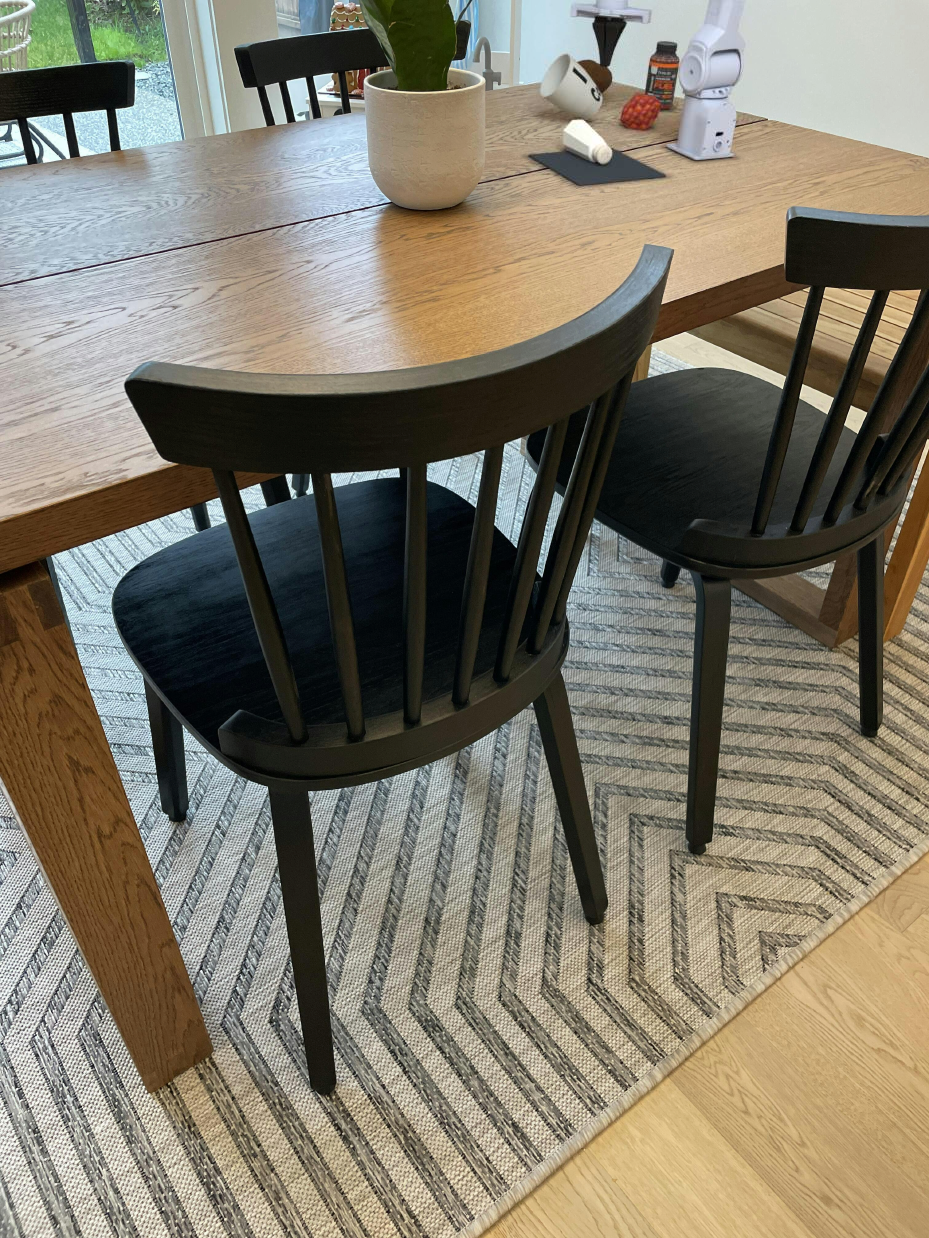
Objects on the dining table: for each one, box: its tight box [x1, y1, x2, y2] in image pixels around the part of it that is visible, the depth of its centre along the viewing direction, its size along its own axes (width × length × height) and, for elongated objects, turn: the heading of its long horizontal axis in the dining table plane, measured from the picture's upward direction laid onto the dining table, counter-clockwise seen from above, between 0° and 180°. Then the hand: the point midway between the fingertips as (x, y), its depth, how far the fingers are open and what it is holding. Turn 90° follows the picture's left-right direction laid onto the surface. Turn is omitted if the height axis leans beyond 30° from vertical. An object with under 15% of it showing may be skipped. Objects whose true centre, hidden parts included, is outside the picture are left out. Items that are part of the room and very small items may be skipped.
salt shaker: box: [561, 119, 612, 164], centre depth 154 cm, size 5×5×11 cm
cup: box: [539, 52, 604, 121], centre depth 172 cm, size 8×8×10 cm
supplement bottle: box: [644, 40, 681, 111], centre depth 184 cm, size 6×6×11 cm
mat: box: [528, 146, 667, 187], centre depth 152 cm, size 18×16×1 cm
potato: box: [576, 59, 613, 94], centre depth 190 cm, size 7×12×7 cm, turn 117°
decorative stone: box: [619, 93, 662, 131], centre depth 172 cm, size 6×7×8 cm
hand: (605, 66), depth 171 cm, fingers closed
